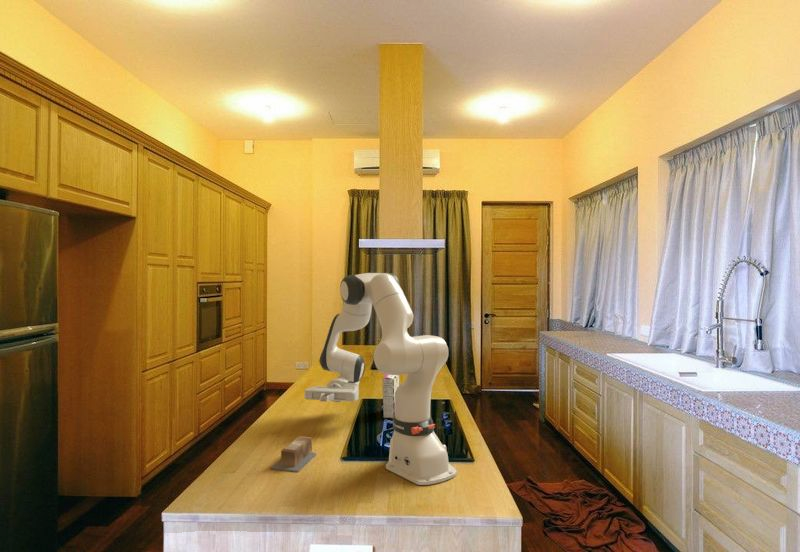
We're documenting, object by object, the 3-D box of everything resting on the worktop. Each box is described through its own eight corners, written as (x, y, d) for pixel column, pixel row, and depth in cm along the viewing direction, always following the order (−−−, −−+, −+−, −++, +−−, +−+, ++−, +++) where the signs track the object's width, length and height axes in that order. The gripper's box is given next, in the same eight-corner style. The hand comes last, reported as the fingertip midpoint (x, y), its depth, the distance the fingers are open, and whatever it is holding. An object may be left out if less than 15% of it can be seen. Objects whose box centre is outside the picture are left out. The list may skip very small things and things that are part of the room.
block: (311, 451, 146) (294, 466, 134) (299, 449, 147) (281, 465, 135) (311, 437, 146) (294, 451, 134) (299, 435, 147) (281, 449, 135)
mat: (298, 472, 132) (298, 470, 132) (270, 469, 134) (270, 467, 134) (316, 454, 144) (316, 453, 144) (291, 452, 146) (291, 450, 146)
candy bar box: (388, 409, 191) (388, 371, 191) (399, 410, 190) (399, 372, 190) (382, 418, 180) (382, 377, 180) (394, 418, 179) (394, 378, 179)
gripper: (313, 380, 176) (296, 389, 163) (362, 382, 171) (349, 391, 158) (313, 396, 176) (297, 406, 162) (362, 399, 171) (350, 409, 158)
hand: (323, 399), depth 160 cm, fingers closed
